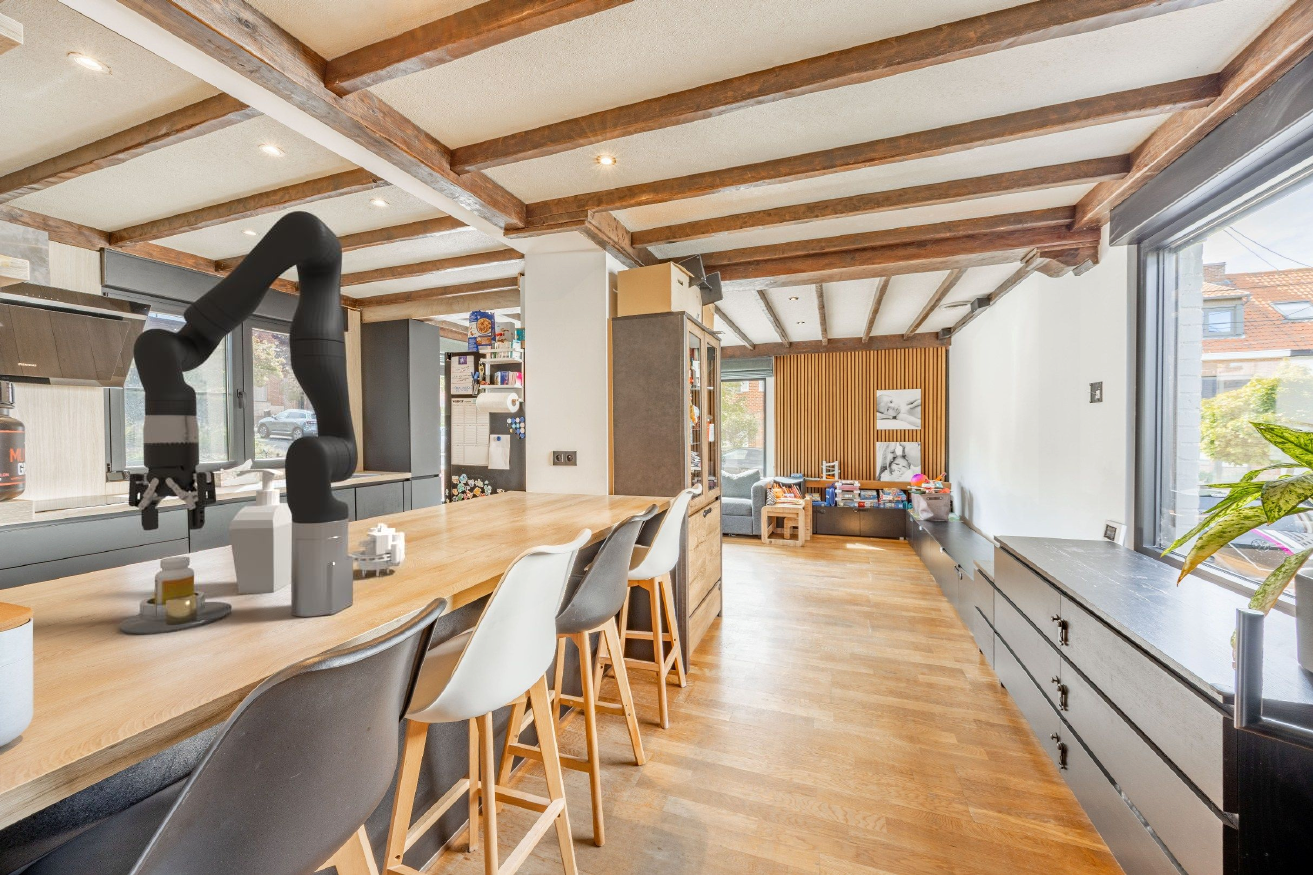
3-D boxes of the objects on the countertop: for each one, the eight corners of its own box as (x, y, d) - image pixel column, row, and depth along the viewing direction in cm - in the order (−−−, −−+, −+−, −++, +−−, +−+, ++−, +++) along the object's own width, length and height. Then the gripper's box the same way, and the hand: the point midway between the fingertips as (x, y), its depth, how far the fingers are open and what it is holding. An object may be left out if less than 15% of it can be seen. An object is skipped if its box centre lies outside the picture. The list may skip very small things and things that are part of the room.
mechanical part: (353, 570, 131) (353, 522, 131) (406, 566, 136) (406, 520, 136) (344, 582, 121) (344, 530, 121) (402, 577, 125) (403, 527, 125)
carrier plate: (252, 606, 103) (252, 582, 103) (179, 635, 88) (179, 606, 88) (178, 604, 104) (178, 580, 104) (93, 633, 89) (93, 604, 89)
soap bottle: (253, 580, 121) (254, 467, 121) (302, 579, 123) (302, 467, 123) (218, 596, 109) (219, 471, 109) (273, 594, 111) (273, 471, 111)
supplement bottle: (201, 607, 100) (202, 556, 100) (171, 617, 95) (172, 562, 95) (176, 605, 101) (177, 554, 101) (145, 615, 95) (146, 561, 95)
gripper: (226, 440, 101) (228, 525, 101) (154, 441, 101) (155, 526, 101) (190, 440, 93) (192, 532, 93) (112, 441, 94) (114, 533, 94)
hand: (173, 529), depth 97 cm, fingers open, 8 cm apart
